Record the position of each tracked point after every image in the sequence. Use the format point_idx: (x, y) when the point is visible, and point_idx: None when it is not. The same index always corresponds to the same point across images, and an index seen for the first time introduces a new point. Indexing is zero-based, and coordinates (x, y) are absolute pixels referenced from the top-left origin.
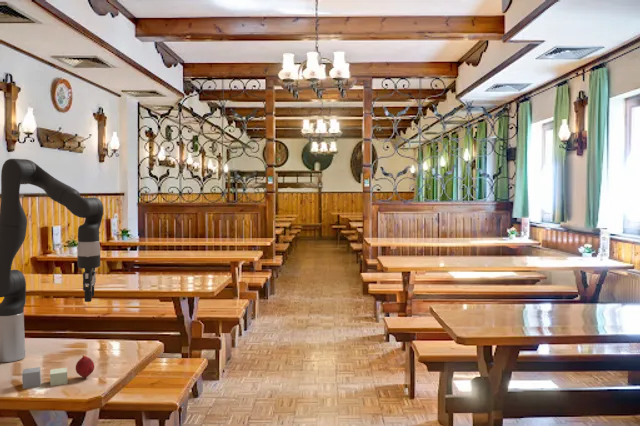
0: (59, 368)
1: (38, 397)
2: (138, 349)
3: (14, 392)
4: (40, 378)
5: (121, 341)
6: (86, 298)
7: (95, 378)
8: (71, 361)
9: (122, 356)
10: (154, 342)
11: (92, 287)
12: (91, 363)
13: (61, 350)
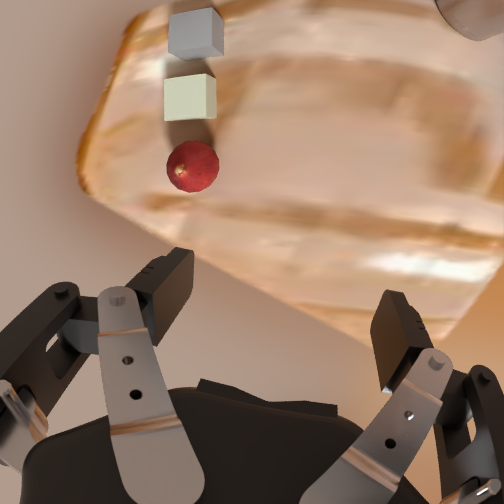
0: (205, 96)
1: (117, 74)
2: None
3: None
4: (204, 54)
5: (479, 286)
6: (148, 269)
7: None
8: (381, 135)
9: (353, 272)
10: None
11: (385, 376)
12: (175, 186)
13: (492, 131)
